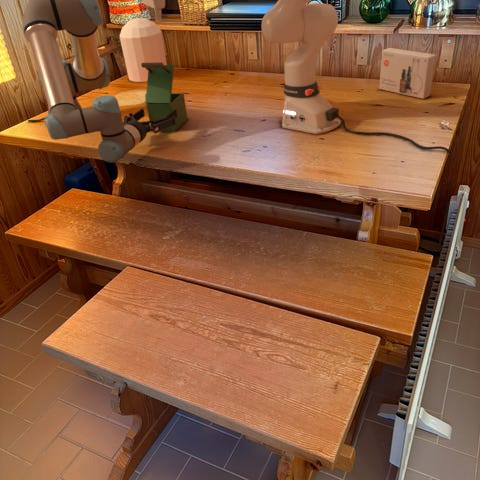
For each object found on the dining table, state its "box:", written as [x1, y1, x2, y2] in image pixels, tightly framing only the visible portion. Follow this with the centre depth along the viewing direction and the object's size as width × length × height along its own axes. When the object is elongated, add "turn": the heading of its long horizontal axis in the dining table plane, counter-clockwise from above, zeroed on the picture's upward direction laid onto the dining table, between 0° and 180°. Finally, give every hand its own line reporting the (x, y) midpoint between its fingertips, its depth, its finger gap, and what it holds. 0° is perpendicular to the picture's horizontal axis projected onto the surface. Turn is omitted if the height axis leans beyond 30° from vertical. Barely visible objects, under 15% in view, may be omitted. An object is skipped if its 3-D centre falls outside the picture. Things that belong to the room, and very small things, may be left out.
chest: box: [145, 92, 188, 133], centre depth 178 cm, size 13×10×10 cm
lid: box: [141, 62, 175, 104], centre depth 166 cm, size 14×10×8 cm
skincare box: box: [378, 47, 437, 100], centre depth 184 cm, size 21×6×16 cm, turn 40°
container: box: [119, 17, 168, 83], centre depth 235 cm, size 21×21×28 cm
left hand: (159, 112), depth 172 cm, fingers open, 13 cm apart
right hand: (155, 20), depth 162 cm, fingers open, 8 cm apart
